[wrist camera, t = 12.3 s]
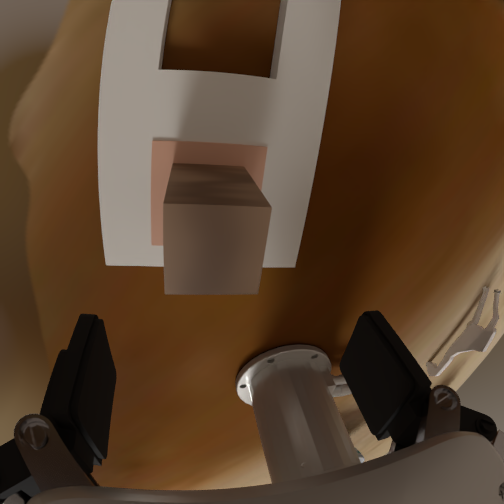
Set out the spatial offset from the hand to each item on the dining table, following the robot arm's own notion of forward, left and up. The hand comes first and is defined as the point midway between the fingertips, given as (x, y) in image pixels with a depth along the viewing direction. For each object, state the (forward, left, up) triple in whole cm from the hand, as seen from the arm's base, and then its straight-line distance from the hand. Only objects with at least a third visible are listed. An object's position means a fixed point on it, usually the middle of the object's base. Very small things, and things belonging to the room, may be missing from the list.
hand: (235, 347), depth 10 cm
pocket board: (0, -8, -16) cm, 18 cm away
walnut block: (0, -1, -14) cm, 14 cm away
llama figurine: (-43, +19, -16) cm, 50 cm away
